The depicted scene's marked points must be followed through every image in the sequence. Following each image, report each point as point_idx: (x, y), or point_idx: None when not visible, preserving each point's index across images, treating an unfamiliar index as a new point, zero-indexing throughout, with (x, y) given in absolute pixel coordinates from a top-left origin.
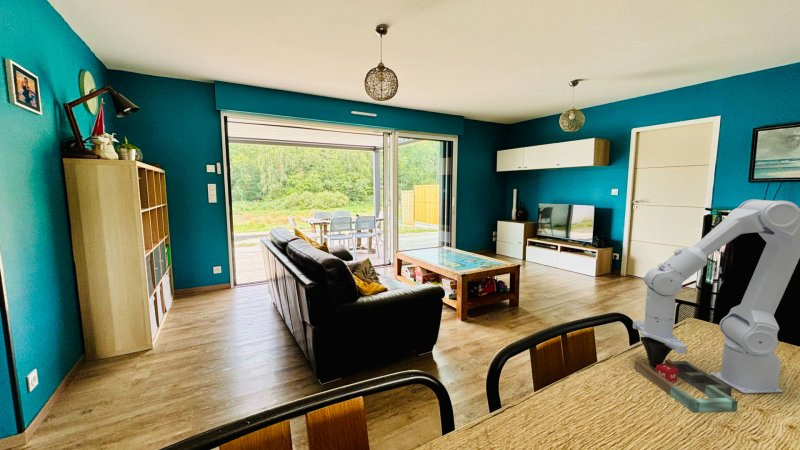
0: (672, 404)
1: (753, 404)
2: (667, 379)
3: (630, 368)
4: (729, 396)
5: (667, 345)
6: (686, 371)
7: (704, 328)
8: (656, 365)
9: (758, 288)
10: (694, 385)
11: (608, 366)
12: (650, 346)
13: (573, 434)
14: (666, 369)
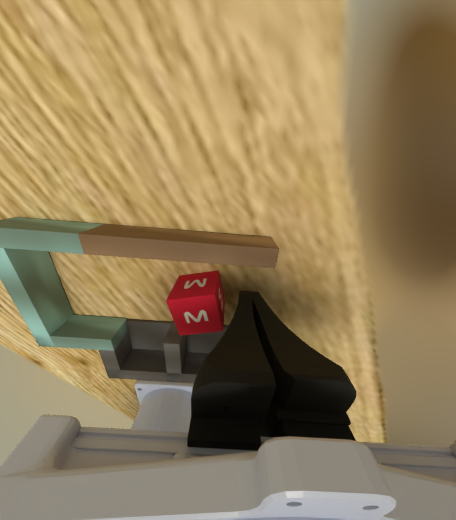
0: (46, 184)
1: (101, 366)
2: (178, 280)
3: (276, 225)
4: (60, 346)
5: (164, 436)
6: None
7: None
8: (213, 293)
9: None
10: (160, 325)
11: (318, 133)
12: (248, 356)
13: None
14: (181, 303)
